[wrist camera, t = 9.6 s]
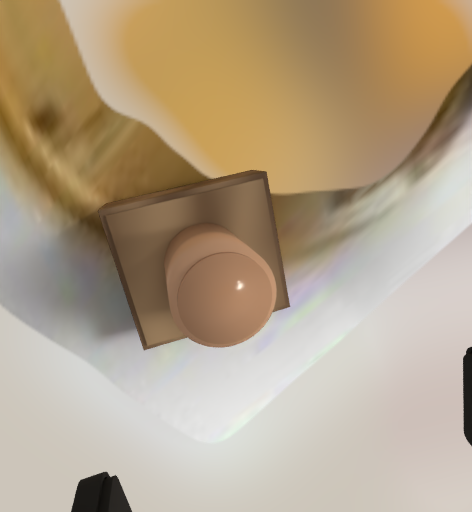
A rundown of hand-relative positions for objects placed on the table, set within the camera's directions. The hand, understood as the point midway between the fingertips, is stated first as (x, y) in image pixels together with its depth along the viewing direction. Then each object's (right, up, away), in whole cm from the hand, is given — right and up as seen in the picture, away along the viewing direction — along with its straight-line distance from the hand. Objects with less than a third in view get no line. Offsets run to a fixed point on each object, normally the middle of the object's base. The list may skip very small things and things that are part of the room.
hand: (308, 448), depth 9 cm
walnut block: (-5, +5, +21) cm, 22 cm away
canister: (-4, +4, +17) cm, 18 cm away
